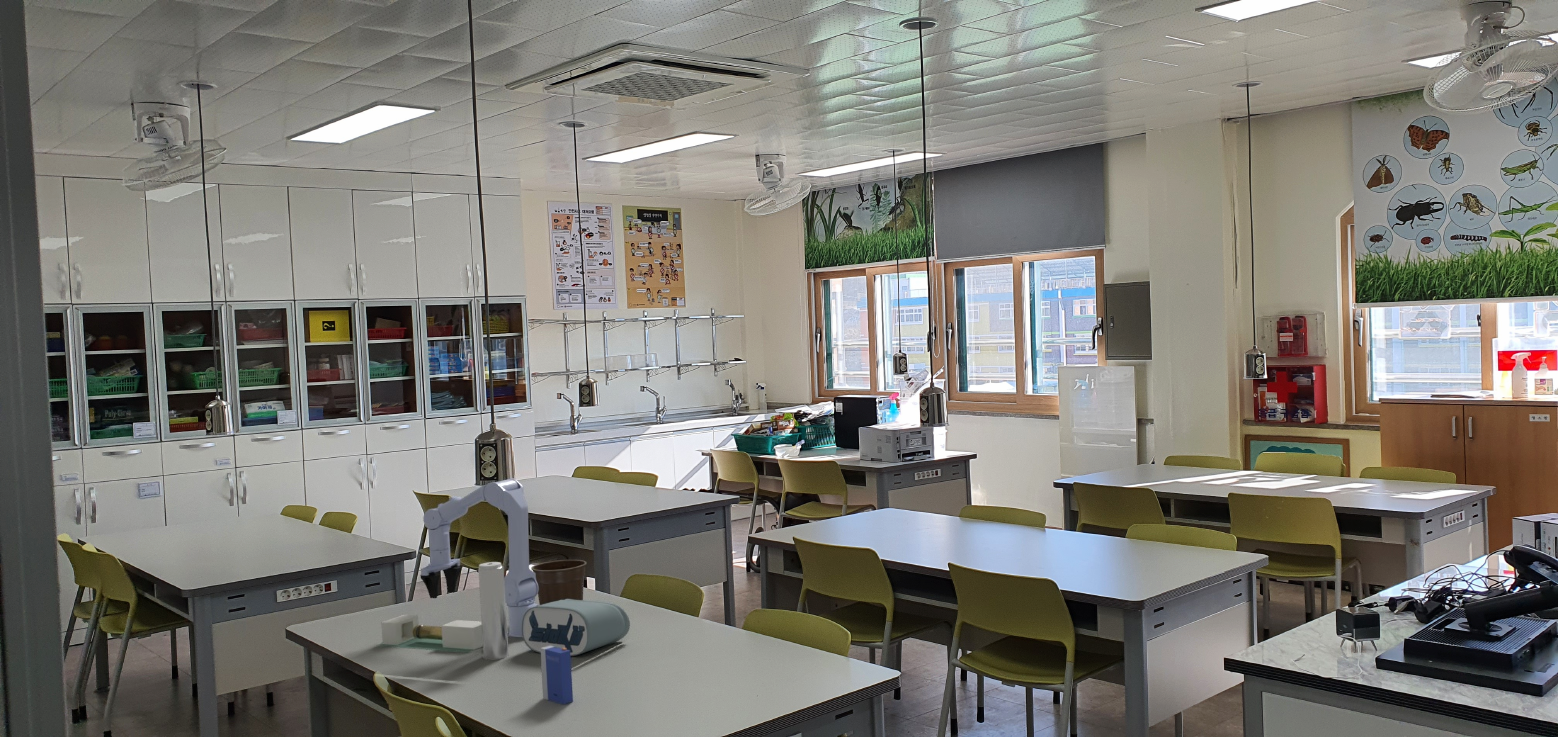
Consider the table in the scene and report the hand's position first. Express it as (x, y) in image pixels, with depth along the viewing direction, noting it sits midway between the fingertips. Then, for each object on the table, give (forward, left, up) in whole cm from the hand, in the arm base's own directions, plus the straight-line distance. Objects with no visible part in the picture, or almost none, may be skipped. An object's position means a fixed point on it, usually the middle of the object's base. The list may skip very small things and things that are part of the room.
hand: (442, 594), depth 321 cm
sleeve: (-20, +15, -10) cm, 27 cm away
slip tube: (-14, +15, -9) cm, 22 cm away
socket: (+3, +15, -10) cm, 18 cm away
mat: (-10, +15, -10) cm, 21 cm away
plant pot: (-28, -19, -10) cm, 35 cm away
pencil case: (-52, +8, -10) cm, 54 cm away
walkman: (-73, +47, -10) cm, 87 cm away
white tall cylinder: (-36, +22, -10) cm, 43 cm away
